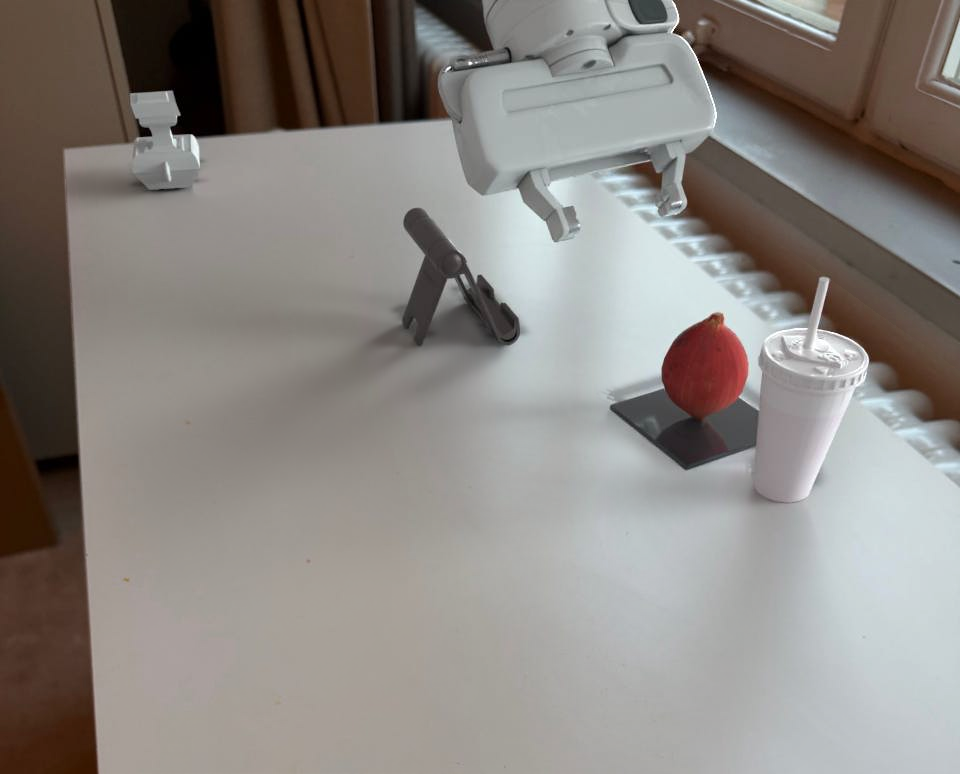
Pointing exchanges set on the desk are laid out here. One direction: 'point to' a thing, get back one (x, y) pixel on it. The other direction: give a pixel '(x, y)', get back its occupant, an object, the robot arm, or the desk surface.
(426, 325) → the tablet stand
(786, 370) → the smoothie
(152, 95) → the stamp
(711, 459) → the coaster
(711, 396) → the onion
